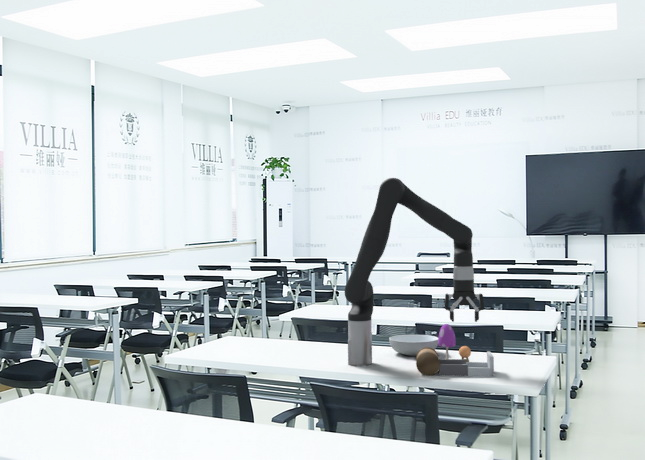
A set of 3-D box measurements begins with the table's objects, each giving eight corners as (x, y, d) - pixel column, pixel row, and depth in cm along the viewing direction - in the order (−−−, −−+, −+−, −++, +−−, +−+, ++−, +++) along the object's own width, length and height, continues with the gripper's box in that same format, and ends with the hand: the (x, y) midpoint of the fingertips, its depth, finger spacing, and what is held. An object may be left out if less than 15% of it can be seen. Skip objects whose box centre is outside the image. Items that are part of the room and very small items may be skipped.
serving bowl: (446, 352, 273) (446, 336, 273) (427, 360, 255) (426, 343, 255) (402, 348, 284) (402, 332, 284) (380, 356, 266) (380, 339, 266)
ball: (459, 358, 237) (459, 347, 237) (458, 356, 242) (458, 345, 242) (471, 359, 237) (471, 347, 237) (470, 356, 241) (470, 345, 241)
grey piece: (439, 375, 228) (439, 356, 228) (438, 369, 238) (438, 351, 238) (493, 376, 226) (493, 356, 226) (490, 370, 235) (490, 351, 235)
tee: (461, 369, 238) (461, 358, 238) (460, 367, 241) (460, 356, 241) (469, 369, 237) (469, 358, 238) (468, 367, 240) (468, 356, 240)
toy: (455, 363, 248) (455, 325, 248) (438, 363, 249) (437, 325, 249) (455, 360, 255) (455, 322, 255) (438, 360, 256) (438, 322, 256)
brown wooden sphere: (440, 375, 228) (439, 352, 228) (416, 375, 229) (415, 352, 229) (438, 369, 238) (438, 347, 238) (416, 369, 239) (415, 347, 239)
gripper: (444, 279, 237) (445, 322, 237) (484, 278, 235) (484, 322, 235) (443, 277, 244) (444, 320, 244) (481, 277, 242) (482, 320, 242)
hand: (464, 321), depth 239 cm, fingers open, 8 cm apart
